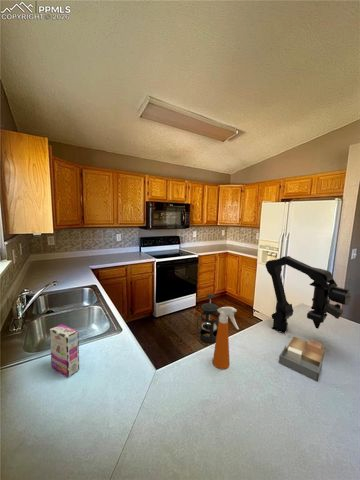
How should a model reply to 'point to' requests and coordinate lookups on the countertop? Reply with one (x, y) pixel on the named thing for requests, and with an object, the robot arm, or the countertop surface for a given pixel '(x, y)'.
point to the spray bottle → (223, 338)
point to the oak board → (306, 351)
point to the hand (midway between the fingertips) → (317, 328)
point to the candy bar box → (64, 350)
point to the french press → (208, 322)
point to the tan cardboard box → (314, 346)
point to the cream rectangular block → (294, 355)
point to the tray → (301, 366)
